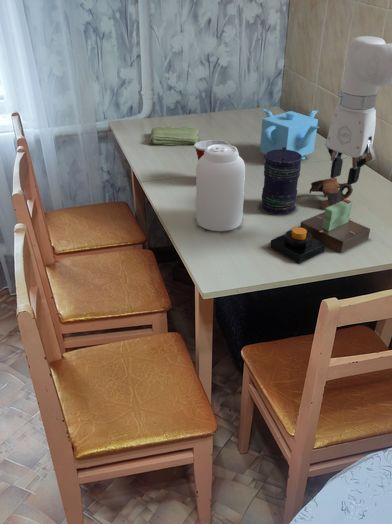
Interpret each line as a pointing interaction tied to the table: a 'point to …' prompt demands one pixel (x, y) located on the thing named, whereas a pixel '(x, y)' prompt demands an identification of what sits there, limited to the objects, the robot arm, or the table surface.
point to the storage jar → (280, 181)
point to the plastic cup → (202, 146)
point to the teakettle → (289, 132)
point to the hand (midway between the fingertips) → (343, 179)
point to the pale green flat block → (337, 215)
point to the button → (299, 233)
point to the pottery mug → (331, 191)
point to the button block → (297, 247)
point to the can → (220, 188)
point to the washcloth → (174, 135)
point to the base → (336, 233)
